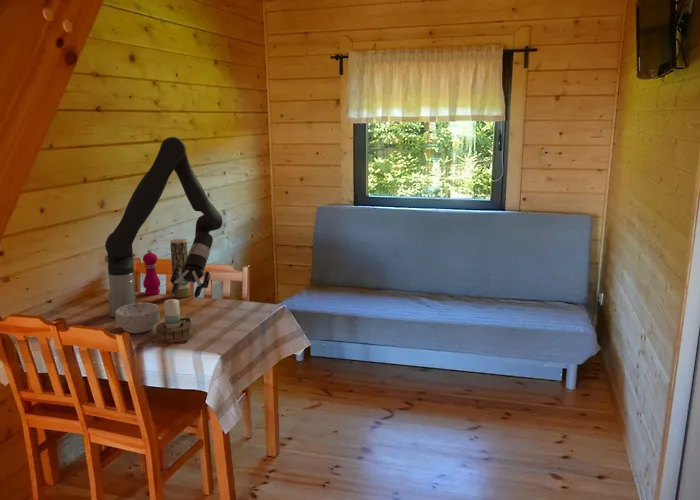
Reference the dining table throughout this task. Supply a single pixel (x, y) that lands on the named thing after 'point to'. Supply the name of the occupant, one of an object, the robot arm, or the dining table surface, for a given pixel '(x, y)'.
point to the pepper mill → (151, 274)
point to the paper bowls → (137, 317)
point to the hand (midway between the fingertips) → (184, 295)
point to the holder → (174, 333)
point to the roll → (172, 314)
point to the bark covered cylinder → (180, 264)
